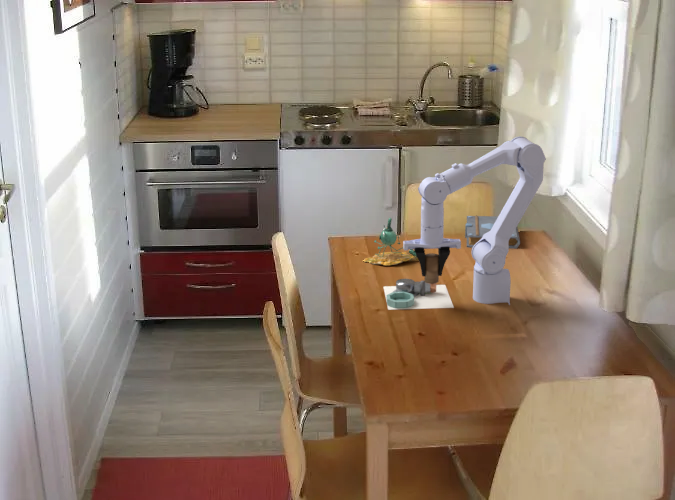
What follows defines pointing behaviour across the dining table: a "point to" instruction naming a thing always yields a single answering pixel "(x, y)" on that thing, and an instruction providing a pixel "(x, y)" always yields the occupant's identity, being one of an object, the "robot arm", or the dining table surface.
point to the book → (485, 230)
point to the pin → (431, 268)
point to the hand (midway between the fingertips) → (431, 274)
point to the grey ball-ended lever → (413, 286)
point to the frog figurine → (390, 258)
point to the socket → (400, 299)
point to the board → (425, 298)
